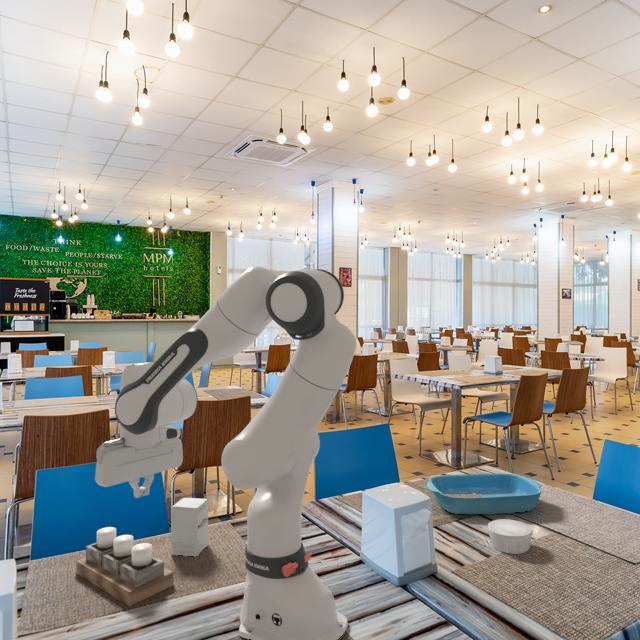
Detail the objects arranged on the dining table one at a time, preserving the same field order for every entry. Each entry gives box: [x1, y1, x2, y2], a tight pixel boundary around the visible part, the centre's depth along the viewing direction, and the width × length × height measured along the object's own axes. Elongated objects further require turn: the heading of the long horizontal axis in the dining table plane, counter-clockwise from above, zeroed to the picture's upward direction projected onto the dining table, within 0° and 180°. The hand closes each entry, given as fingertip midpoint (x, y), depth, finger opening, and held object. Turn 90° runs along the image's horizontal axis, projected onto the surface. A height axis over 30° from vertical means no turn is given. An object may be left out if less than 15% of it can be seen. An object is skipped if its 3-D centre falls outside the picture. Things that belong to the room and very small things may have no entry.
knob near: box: [131, 542, 153, 566], centre depth 115 cm, size 4×4×3 cm
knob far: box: [96, 526, 117, 548], centre depth 124 cm, size 4×4×3 cm
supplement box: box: [170, 497, 209, 558], centre depth 135 cm, size 7×7×13 cm
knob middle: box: [113, 534, 135, 557], centre depth 120 cm, size 4×4×3 cm
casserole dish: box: [426, 472, 542, 515], centre depth 166 cm, size 37×22×7 cm, turn 94°
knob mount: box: [75, 541, 175, 607], centre depth 120 cm, size 23×11×6 cm, turn 52°
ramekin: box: [487, 518, 534, 555], centre depth 136 cm, size 11×11×5 cm
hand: (141, 495), depth 115 cm, fingers closed
